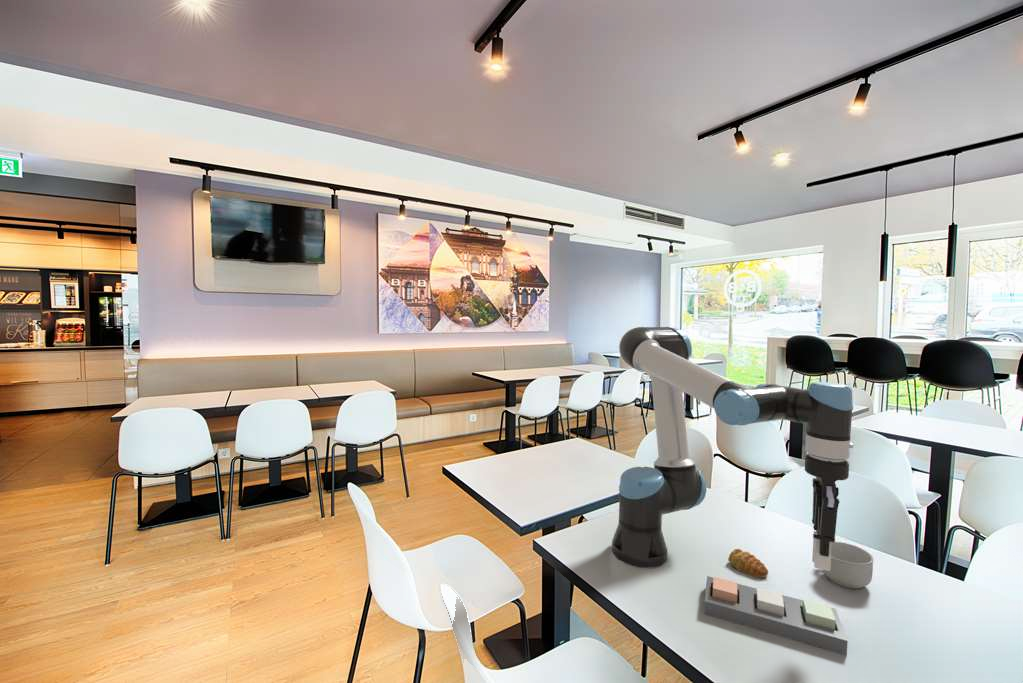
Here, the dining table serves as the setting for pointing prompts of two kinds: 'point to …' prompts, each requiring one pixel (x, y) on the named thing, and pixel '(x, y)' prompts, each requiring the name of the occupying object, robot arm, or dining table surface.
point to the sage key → (818, 614)
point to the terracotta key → (725, 590)
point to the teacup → (850, 565)
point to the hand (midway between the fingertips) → (821, 565)
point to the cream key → (770, 601)
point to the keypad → (775, 618)
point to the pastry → (747, 563)
